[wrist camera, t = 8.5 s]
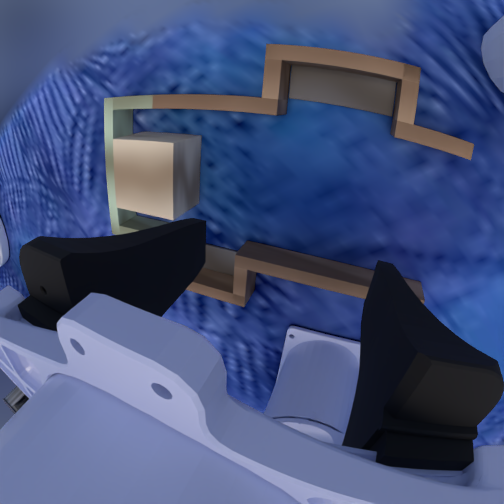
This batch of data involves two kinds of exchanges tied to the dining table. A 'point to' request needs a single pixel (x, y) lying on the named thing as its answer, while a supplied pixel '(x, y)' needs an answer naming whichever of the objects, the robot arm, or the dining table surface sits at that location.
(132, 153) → the oak block
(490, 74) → the white tapered cup
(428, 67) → the dining table surface
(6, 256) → the bottle
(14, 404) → the milk frother
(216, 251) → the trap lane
